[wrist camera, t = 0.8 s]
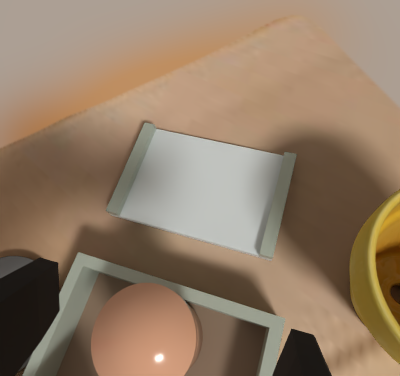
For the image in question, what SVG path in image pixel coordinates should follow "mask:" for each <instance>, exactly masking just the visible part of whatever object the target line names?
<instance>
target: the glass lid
mask: <svg viewBox="0 0 400 376" xmlns="http://www.w3.org/2000/svg"><path fill="white" fill-rule="evenodd" d="M296 156H297V154H294V153H289V152H285V153H284V156H283V155H279V154H274V153H269V152H264V151H260V150H255V149H250V148H245V147H241V146H236V145H231V144H226V143H222V142H217V141H212V140H207V139H202V138H198V137H193V136H188V135H183V134H179V133H174V132H169V131H164V130H160V129H156V127H155V125H154V124H150V123H144V125H143V128H142V130H141V132H140V134H139V137H138V139H137V141H136V143H135V146H134V148H133V150H132V152H131V155H130V157H129V159H128V161H127V164H126V166H125V168H124V171H123V173H122V175H121V177H120V180H119V182H118V184H117V186H116V189H115V191H114V193H113V195H112V198H111V200H110V202H109V204H108V207H107V209H106V211H107V212H108V213H109V214H110V215H111V216H115V217H119V218H122V219H126V220H129V221H133V222H136V223H140V224H143V225H147V226H150V227H154V228H157V229H161V230H164V231H168V232H171V233H175V234H178V235H182V236H185V237H189V238H192V239H196V240H199V241H203V242H206V243H210V244H213V245H217V246H220V247H224V248H227V249H231V250H234V251H238V252H241V253H245V254H248V255H252V256H256V257H259V258H263V259H266V260H270V261H272V258H273V254H274V250H275V246H276V242H277V237H278V233H279V229H280V224H281V220H282V216H283V212H284V207H285V203H286V199H287V194H288V190H289V186H290V181H291V177H292V173H293V169H294V164H295V160H296Z"/></svg>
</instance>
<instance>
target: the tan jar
mask: <svg viewBox="0 0 400 376" xmlns="http://www.w3.org/2000/svg"><path fill="white" fill-rule="evenodd" d="M202 342H203V331H202V326H201V322H200V320H199V317H198V316H197V314H196V312H195V311H194V310H193V308H192V307H191V306H190V305H188V304H187V303H186V302H185V300H184V299H183V298H182V297H181V296H179V295H178V294H177V293H176V292H174V291H172V290H171V289H169V288H167V287H165V286H162V285H159V284H155V283H138V284H134V285H131V286H128V287H126V288H124V289H122V290H120V291H119V292H117V293H116V294H115V295H114V296H112V297H111V298H110V299H109V300H108V301H107V303H106V304H105V305H104V306H103V308H102V309H101V311H100V313H99V315H98V317H97V319H96V321H95V324H94V327H93V332H92V337H91V354H92V360H93V363H94V367H95V369H96V372H97V374H98V375H99V376H185V375H186V373H187V372H188V370H189V369H190V368H191V367H192V366H193V364H194V363H195V361H196V360H197V358H198V356H199V354H200V351H201V347H202Z"/></svg>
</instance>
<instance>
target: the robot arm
mask: <svg viewBox="0 0 400 376" xmlns="http://www.w3.org/2000/svg"><path fill="white" fill-rule="evenodd" d="M59 311H60V303H59V274H58V263H57V262H54V261H50V260H47V259H43V258H38V259H36V260H34V261H32V262H30V263H28V264H27V265H25V266H23V267H21V268H19V269H17V270H15V271H13V272H11V273H10V274H8V275H6V276H4V277H2V278H0V376H15V375H16V373H17V372H18V371H19V369H20V368H21V367H22V366H23V364H24V363H25V362H26V360H27V359H28V358H29V357H30V355H31V354H32V353H33V351H34V350H35V349H36V347H37V346H38V345H39V343H40V342H41V341H42V339H43V337H44V336H45V334H46V333H47V331H48V329H49V328H50V326H51V325H52V323H53V321H54V319H55V318H56V316H57V314H58V313H59ZM272 376H332V375H331V373H330V371H329V368H328V366H327V364H326V362H325V359H324V357H323V355H322V352H321V350H320V348H319V345H318V343H317V341H316V338H315V337H314V335H312V334H309V333H305V332H302V331H298V330H295V329H291V331H290V334H289V336H288V339H287V341H286V343H285V346H284V348H283V350H282V353H281V355H280V358H279V360H278V362H277V365H276V367H275V369H274V372H273V374H272Z"/></svg>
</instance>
